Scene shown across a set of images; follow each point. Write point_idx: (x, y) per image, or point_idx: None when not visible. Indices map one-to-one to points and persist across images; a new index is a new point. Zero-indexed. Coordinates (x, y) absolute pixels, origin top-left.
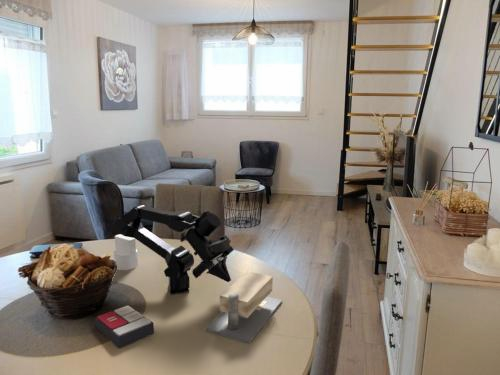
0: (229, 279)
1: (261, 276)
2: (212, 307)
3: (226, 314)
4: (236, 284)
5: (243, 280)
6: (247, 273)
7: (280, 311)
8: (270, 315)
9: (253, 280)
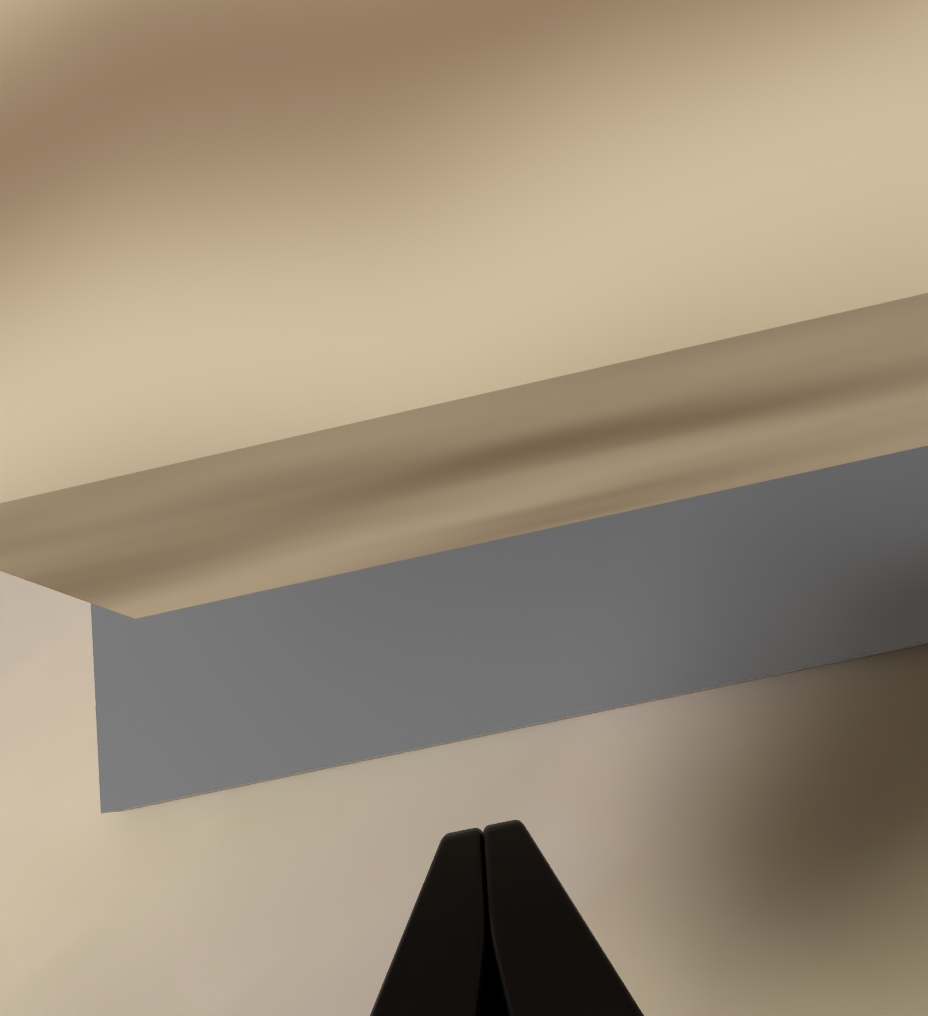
0: (515, 843)
1: (30, 44)
2: (857, 956)
3: (912, 545)
4: (915, 185)
5: (542, 208)
6: (41, 427)
7: None
8: None
9: (355, 39)
